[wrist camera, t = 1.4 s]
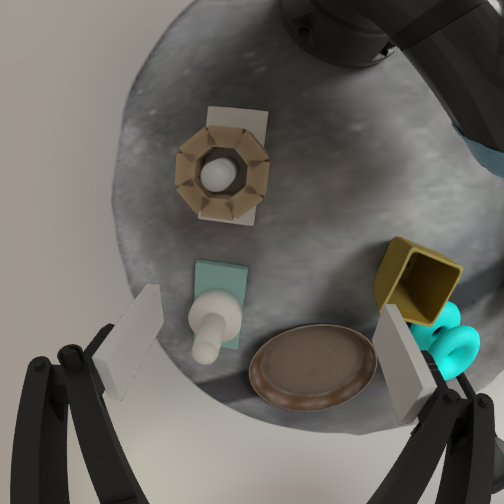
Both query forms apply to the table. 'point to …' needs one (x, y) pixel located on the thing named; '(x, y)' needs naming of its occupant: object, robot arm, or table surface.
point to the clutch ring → (222, 201)
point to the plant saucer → (313, 367)
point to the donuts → (448, 342)
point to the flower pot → (415, 281)
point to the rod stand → (231, 155)
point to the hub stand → (217, 308)
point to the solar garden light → (503, 449)
